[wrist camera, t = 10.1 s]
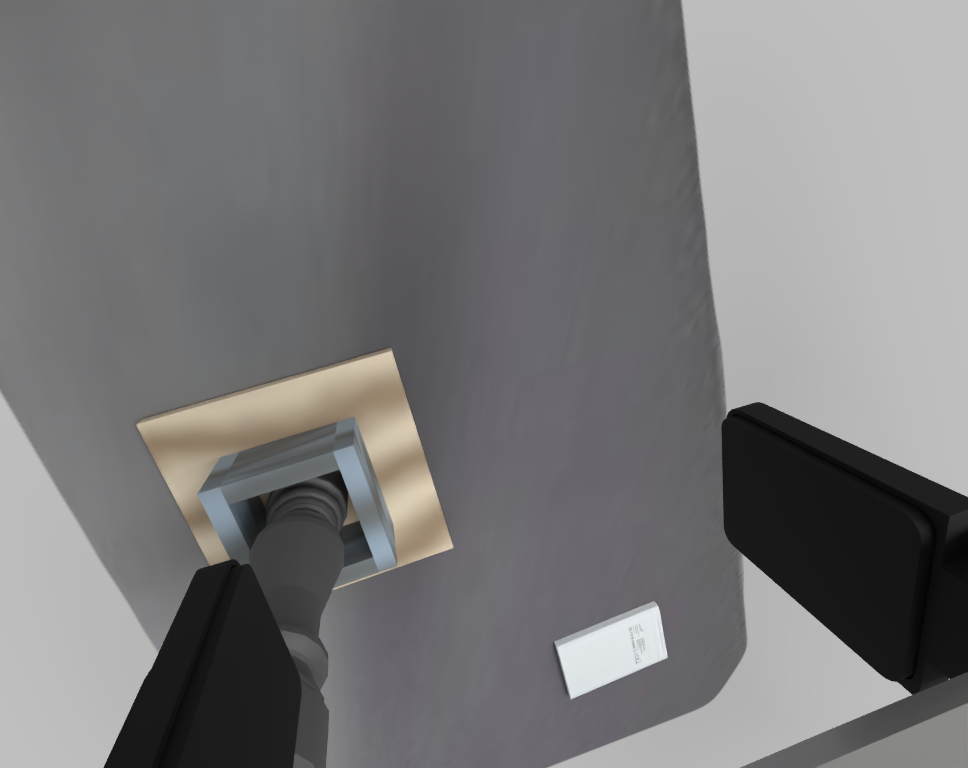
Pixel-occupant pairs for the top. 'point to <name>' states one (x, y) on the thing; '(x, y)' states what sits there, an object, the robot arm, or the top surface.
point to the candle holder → (303, 589)
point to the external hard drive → (611, 649)
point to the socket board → (305, 463)
